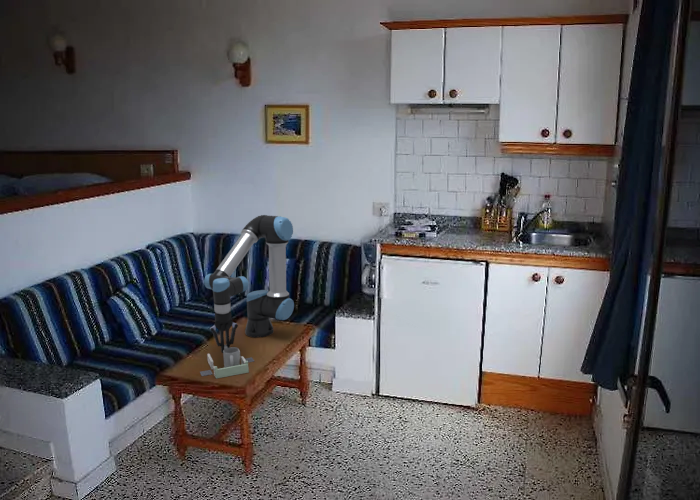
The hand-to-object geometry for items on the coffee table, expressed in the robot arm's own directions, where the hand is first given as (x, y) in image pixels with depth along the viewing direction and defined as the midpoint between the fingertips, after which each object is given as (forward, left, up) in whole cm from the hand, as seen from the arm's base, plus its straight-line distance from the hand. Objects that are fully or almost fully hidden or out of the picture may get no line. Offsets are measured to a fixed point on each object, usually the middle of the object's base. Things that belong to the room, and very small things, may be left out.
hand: (226, 358), depth 279 cm
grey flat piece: (0, +3, -3) cm, 4 cm away
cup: (-1, +7, -3) cm, 8 cm away
